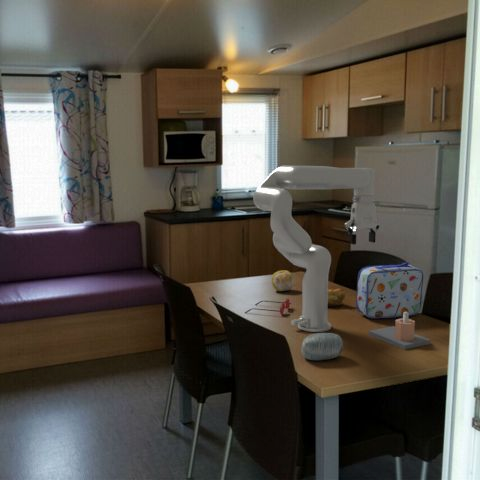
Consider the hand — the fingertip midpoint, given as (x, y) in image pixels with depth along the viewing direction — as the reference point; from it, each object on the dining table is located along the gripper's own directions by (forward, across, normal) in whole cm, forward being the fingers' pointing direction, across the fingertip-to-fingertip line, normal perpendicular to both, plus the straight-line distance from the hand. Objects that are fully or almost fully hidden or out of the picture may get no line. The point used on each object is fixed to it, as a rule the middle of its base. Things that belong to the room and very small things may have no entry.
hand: (362, 243), depth 227 cm
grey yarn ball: (+31, -41, -30) cm, 59 cm away
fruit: (+31, -4, +52) cm, 60 cm away
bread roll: (+31, 0, +21) cm, 37 cm away
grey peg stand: (+30, -6, -28) cm, 42 cm away
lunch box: (+31, +12, -4) cm, 33 cm away
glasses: (+31, -27, +27) cm, 49 cm away
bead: (+29, -6, -31) cm, 43 cm away
